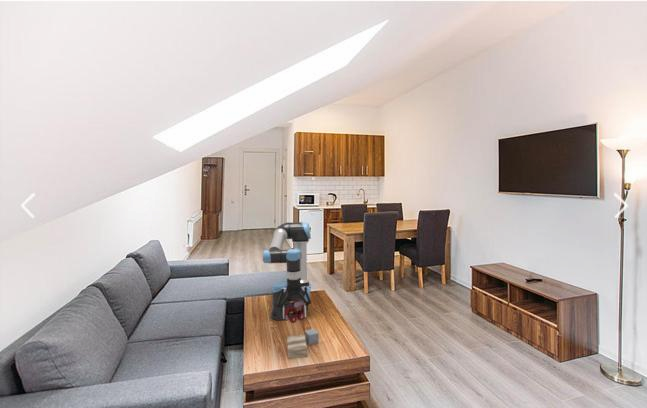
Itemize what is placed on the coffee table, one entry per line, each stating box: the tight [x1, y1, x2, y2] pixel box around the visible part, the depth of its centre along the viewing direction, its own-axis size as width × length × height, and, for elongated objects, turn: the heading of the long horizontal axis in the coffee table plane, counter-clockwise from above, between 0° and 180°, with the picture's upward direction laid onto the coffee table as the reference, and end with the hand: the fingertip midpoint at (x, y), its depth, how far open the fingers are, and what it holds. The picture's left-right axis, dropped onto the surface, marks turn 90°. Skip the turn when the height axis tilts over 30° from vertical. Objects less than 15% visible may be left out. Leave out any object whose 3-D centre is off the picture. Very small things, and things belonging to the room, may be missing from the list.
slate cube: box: [304, 328, 320, 346], centre depth 178 cm, size 6×6×6 cm
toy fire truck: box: [284, 299, 306, 324], centre depth 168 cm, size 7×12×10 cm, turn 125°
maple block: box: [286, 333, 308, 359], centre depth 169 cm, size 15×10×5 cm, turn 9°
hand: (294, 317), depth 168 cm, fingers closed on toy fire truck, 11 cm apart
